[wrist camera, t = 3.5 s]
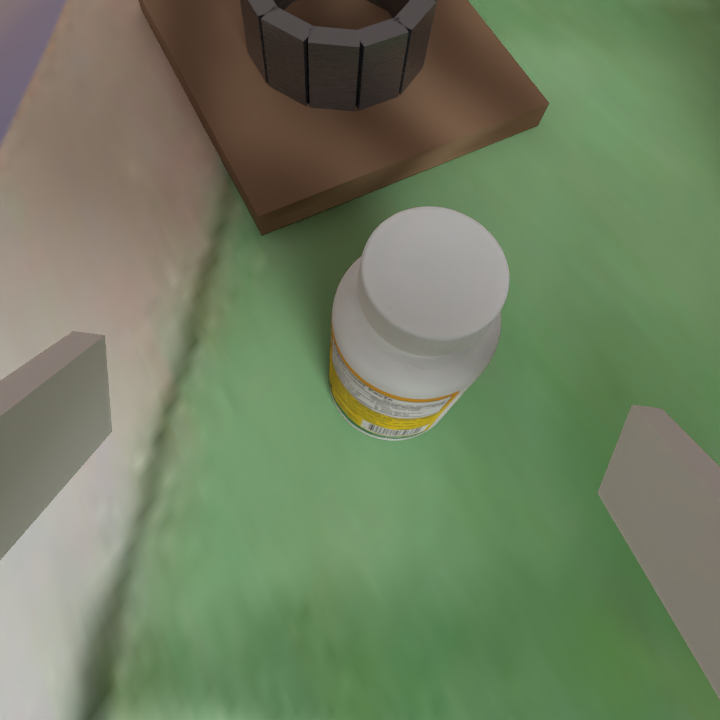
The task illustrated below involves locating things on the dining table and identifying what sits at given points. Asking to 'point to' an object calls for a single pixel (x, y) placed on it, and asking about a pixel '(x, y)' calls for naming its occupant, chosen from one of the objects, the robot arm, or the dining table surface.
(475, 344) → the supplement bottle
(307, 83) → the collar
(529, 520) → the dining table surface
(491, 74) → the board
